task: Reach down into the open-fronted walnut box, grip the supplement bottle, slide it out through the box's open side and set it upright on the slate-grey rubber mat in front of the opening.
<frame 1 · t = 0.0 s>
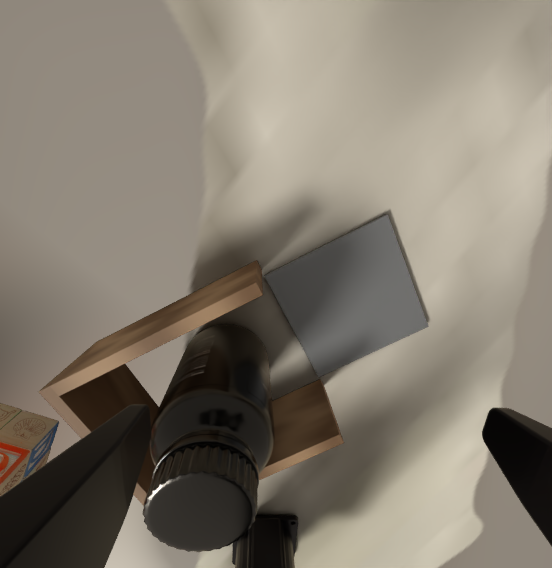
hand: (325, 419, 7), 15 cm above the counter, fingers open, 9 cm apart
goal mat: (348, 300, 22), on the counter
open box: (228, 359, 23), on the counter
supplement bottle: (228, 357, 23), on the counter
stack of blocks: (1, 493, 26), on the counter
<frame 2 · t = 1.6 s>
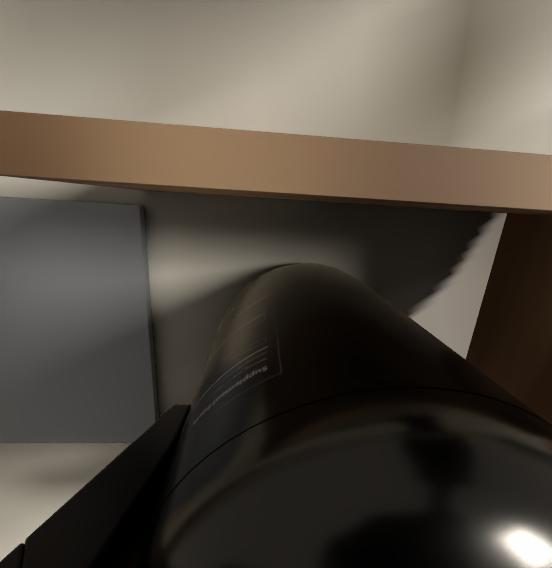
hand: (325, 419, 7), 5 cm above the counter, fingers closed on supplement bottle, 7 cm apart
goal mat: (20, 331, 11), on the counter
open box: (300, 338, 12), on the counter
supplement bottle: (299, 335, 12), on the counter, touching gripper
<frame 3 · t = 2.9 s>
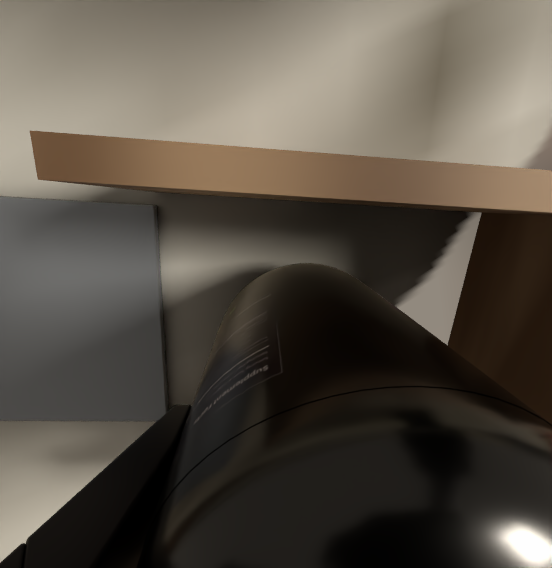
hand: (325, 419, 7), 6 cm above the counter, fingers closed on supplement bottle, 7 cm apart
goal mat: (44, 318, 12), on the counter
open box: (296, 325, 13), on the counter
supplement bottle: (300, 335, 12), point 1 cm above the counter, touching gripper
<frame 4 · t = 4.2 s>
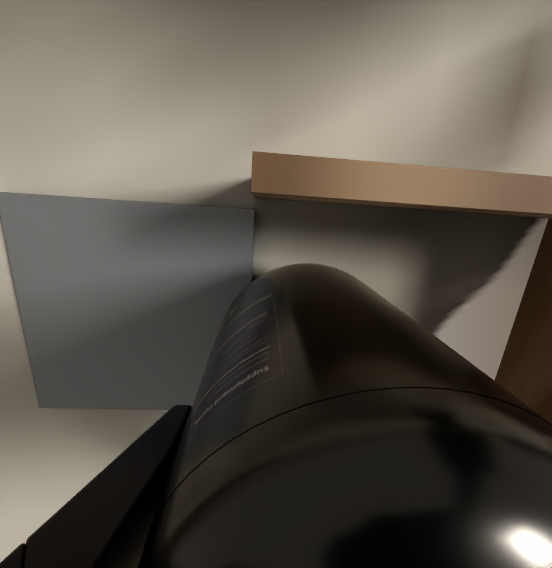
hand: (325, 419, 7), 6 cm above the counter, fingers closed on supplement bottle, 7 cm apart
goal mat: (141, 313, 13), on the counter
open box: (371, 322, 14), on the counter
supplement bottle: (300, 335, 12), point 2 cm above the counter, touching gripper
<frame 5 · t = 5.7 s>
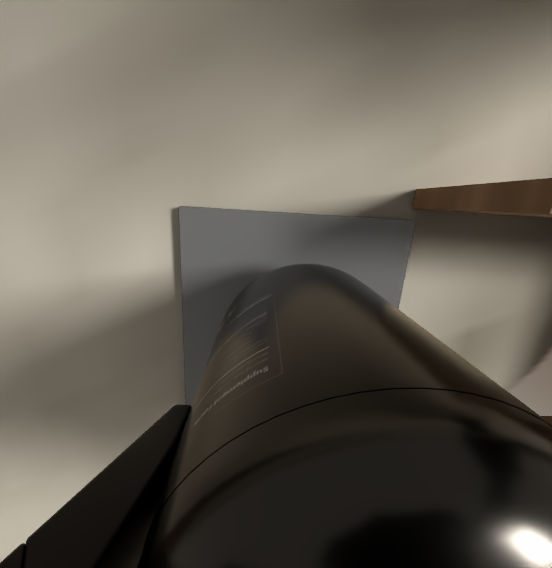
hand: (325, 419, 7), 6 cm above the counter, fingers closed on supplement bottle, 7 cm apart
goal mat: (290, 320, 13), on the counter
open box: (503, 326, 14), on the counter
supplement bottle: (300, 336, 12), point 2 cm above the counter, touching gripper
when the fingers open (6 cm above the counter, at t = 6.6 s): supplement bottle stays where it is, resting on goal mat.
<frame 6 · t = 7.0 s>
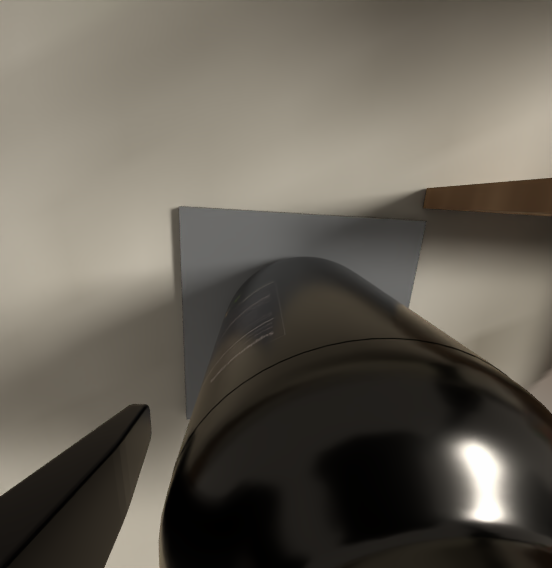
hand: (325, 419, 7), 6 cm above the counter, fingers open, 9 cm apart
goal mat: (295, 324, 13), on the counter
open box: (516, 331, 14), on the counter
supplement bottle: (299, 325, 13), resting on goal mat
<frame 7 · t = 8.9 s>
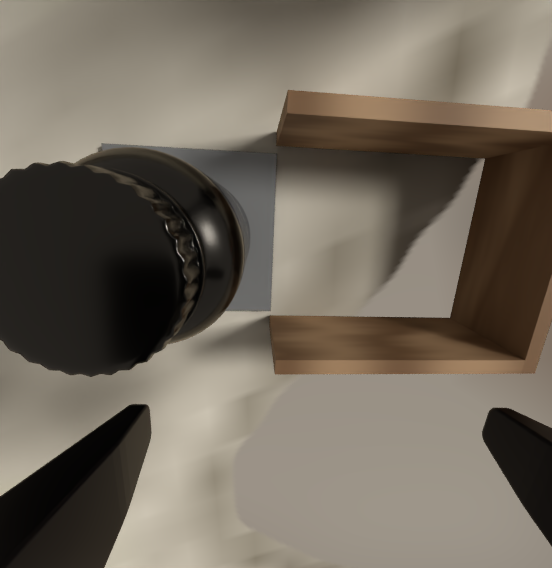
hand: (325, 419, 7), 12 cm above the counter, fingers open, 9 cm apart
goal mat: (195, 234, 18), on the counter
open box: (361, 240, 19), on the counter
supplement bottle: (196, 233, 18), resting on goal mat
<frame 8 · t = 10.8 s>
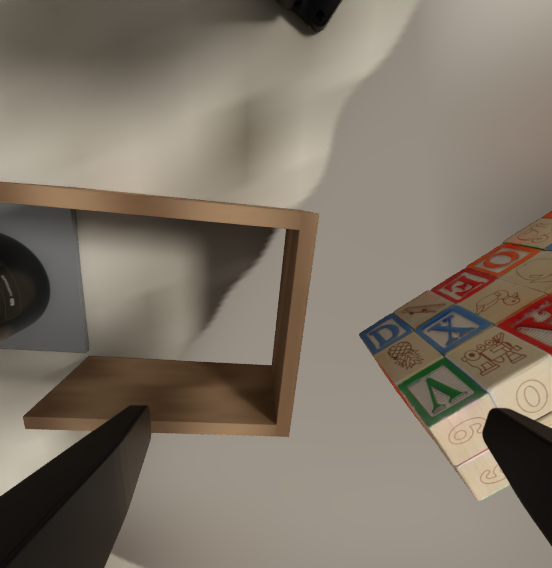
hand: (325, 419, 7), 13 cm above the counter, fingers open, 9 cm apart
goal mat: (3, 279, 18), on the counter
open box: (172, 291, 19), on the counter
supplement bottle: (2, 278, 18), resting on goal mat
stack of blocks: (494, 286, 21), on the counter
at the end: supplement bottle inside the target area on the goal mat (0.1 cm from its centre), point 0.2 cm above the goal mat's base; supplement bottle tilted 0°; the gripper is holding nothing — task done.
